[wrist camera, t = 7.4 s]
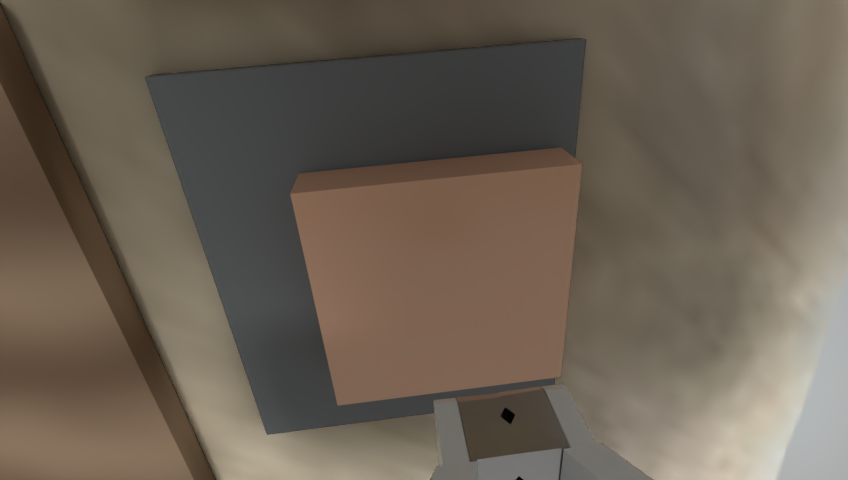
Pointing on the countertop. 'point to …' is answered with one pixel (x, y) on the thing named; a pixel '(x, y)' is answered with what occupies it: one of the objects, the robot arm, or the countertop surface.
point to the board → (71, 321)
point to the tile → (440, 270)
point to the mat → (331, 150)
